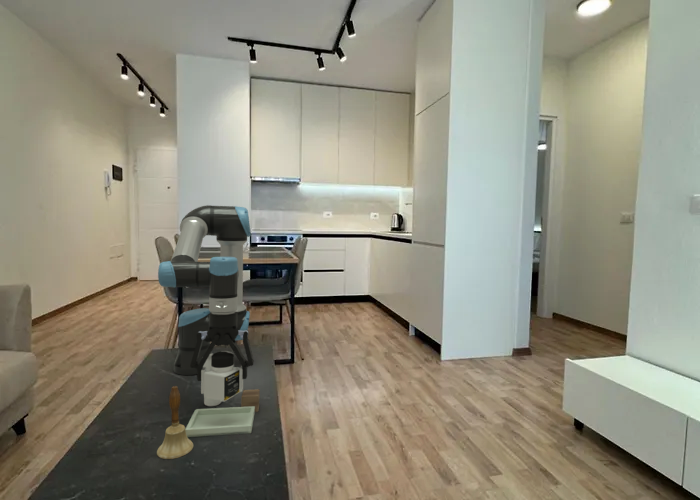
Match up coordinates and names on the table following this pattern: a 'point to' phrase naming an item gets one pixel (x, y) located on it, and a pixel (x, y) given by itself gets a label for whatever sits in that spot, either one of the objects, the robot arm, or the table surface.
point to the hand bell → (175, 432)
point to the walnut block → (250, 398)
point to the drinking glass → (206, 400)
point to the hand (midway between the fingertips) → (222, 390)
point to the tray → (221, 421)
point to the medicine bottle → (221, 377)
